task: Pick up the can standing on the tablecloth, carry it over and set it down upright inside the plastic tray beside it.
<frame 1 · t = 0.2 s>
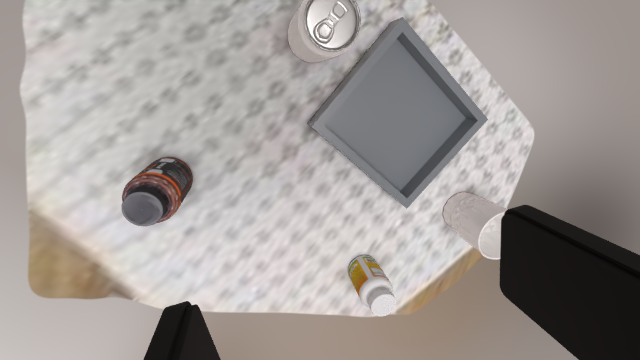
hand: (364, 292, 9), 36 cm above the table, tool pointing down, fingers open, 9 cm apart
tray: (394, 119, 46), on the table
supplement bottle: (171, 176, 42), on the table
can: (311, 37, 40), on the table
supplement bottle 2: (361, 267, 54), on the table
white cup: (458, 208, 54), on the table
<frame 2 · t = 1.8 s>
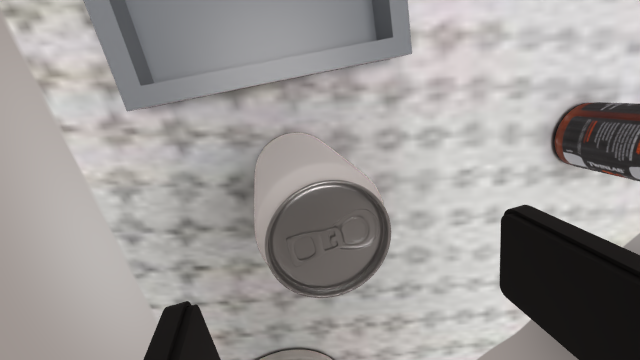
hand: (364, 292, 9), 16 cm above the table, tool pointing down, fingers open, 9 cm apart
supplement bottle: (575, 133, 29), on the table
can: (295, 171, 24), on the table
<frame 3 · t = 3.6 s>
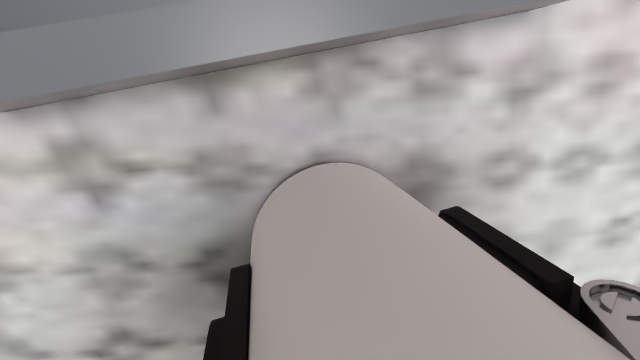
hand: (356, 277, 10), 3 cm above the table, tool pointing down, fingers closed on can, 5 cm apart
can: (330, 232, 13), on the table, touching gripper
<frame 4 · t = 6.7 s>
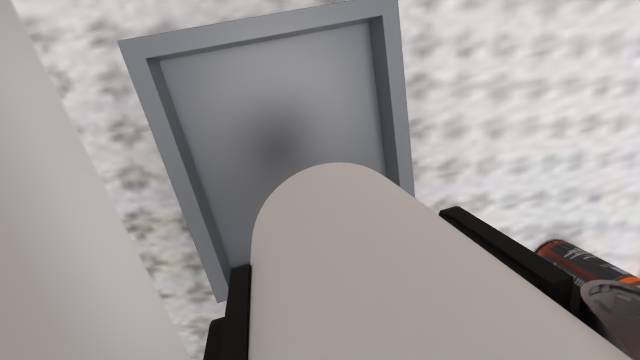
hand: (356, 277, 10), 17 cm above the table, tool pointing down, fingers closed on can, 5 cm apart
tray: (292, 152, 26), on the table
supplement bottle: (547, 259, 36), on the table
can: (330, 232, 13), point 14 cm above the table, touching gripper
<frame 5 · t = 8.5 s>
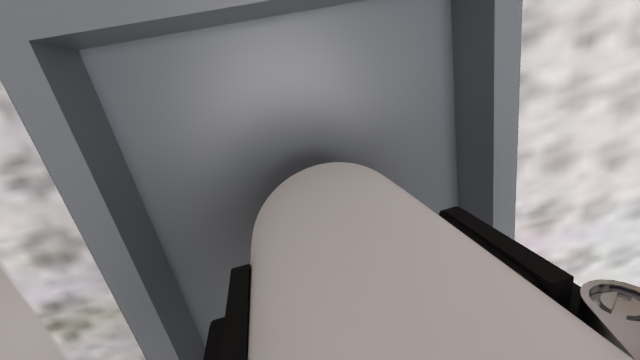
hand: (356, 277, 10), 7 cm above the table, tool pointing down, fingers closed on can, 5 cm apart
tray: (316, 200, 16), on the table
can: (330, 232, 13), point 4 cm above the table, touching gripper
when the fingers open (5 cm above the table, at t = 9.8 s): can drops 1 cm, resting on tray.
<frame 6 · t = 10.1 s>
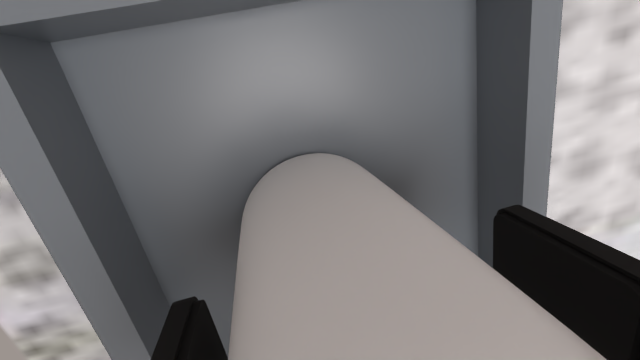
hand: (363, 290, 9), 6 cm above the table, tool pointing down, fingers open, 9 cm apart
tray: (322, 210, 15), on the table
can: (313, 217, 14), point 1 cm above the table, touching tray
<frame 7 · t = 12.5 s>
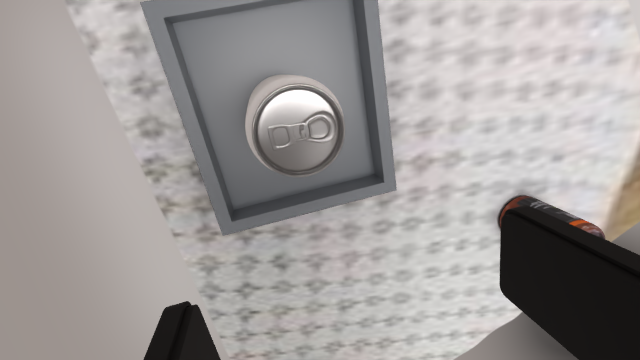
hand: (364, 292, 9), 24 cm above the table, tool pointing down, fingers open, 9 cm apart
tray: (287, 108, 30), on the table
supplement bottle: (515, 214, 41), on the table
can: (282, 109, 29), point 1 cm above the table, touching tray
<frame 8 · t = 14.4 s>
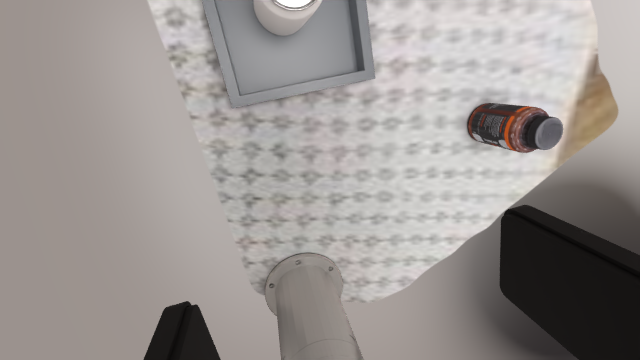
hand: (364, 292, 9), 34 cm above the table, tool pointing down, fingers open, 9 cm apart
tray: (285, 8, 37), on the table
supplement bottle: (482, 122, 47), on the table
can: (281, 7, 36), point 1 cm above the table, touching tray
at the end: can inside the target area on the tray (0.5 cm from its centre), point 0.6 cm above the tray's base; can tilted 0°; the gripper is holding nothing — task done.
